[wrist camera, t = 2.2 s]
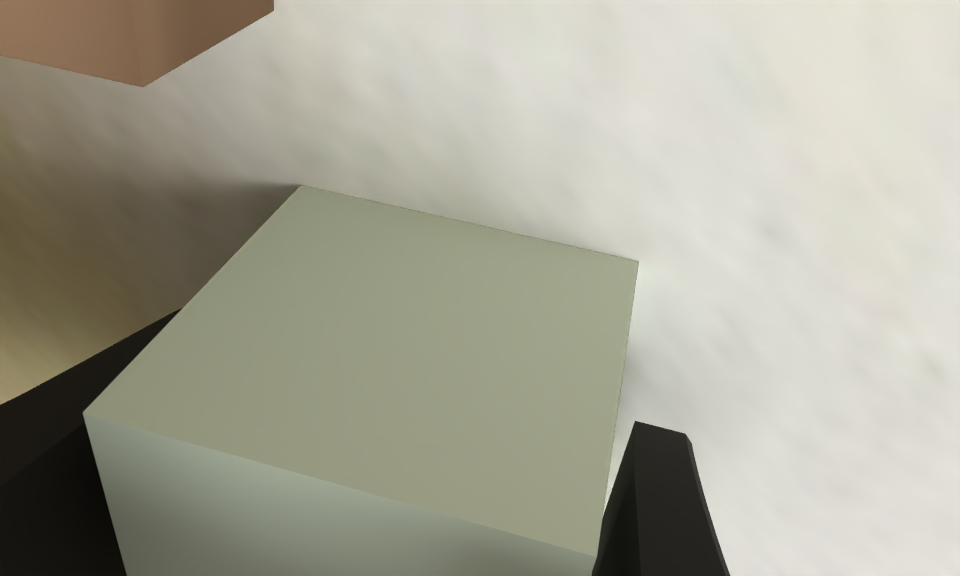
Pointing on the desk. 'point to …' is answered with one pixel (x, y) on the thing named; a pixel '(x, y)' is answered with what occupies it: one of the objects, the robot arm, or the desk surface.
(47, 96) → the desk surface
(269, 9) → the walnut block
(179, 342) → the sage block
